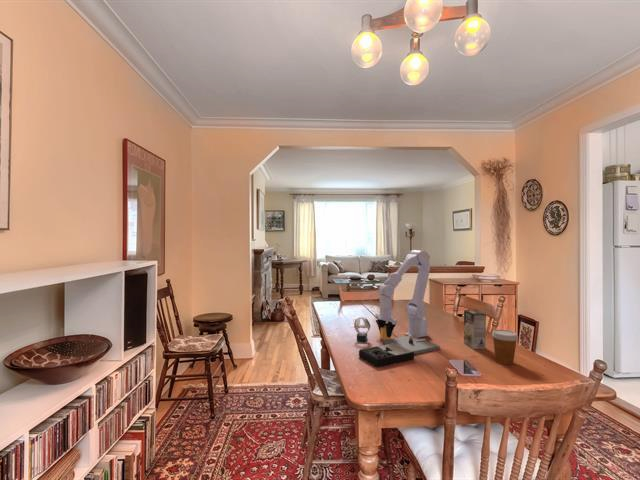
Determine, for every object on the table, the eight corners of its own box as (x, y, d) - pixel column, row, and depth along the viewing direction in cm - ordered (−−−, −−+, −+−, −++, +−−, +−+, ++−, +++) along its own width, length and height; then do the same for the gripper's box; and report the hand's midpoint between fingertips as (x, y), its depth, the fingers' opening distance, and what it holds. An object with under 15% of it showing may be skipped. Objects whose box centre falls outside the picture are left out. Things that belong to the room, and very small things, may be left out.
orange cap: (386, 336, 172) (386, 326, 172) (392, 338, 168) (392, 328, 168) (378, 337, 170) (378, 327, 170) (384, 340, 165) (384, 330, 165)
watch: (369, 342, 162) (369, 319, 162) (353, 340, 164) (353, 318, 164) (371, 339, 168) (371, 317, 167) (355, 337, 170) (355, 315, 170)
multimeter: (358, 358, 143) (358, 346, 143) (393, 350, 152) (394, 339, 152) (377, 369, 131) (377, 356, 131) (414, 360, 140) (414, 348, 140)
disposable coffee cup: (487, 357, 143) (487, 329, 143) (510, 357, 143) (510, 329, 142) (498, 365, 133) (498, 335, 133) (522, 366, 133) (523, 336, 133)
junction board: (412, 338, 169) (412, 333, 169) (439, 349, 153) (439, 344, 153) (383, 343, 161) (383, 338, 161) (409, 355, 145) (409, 350, 145)
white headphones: (368, 327, 190) (368, 320, 190) (357, 329, 186) (357, 322, 186) (358, 324, 197) (358, 317, 197) (347, 326, 193) (347, 319, 193)
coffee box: (462, 342, 162) (463, 309, 162) (475, 342, 162) (476, 309, 162) (472, 349, 153) (473, 314, 153) (486, 349, 153) (486, 313, 153)
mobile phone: (467, 359, 139) (482, 374, 124) (467, 361, 139) (482, 376, 124) (448, 358, 139) (461, 373, 124) (448, 361, 139) (461, 376, 124)
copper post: (411, 342, 158) (411, 334, 158) (414, 343, 156) (414, 335, 156) (407, 342, 157) (407, 335, 157) (410, 343, 155) (410, 336, 155)
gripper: (370, 306, 173) (370, 332, 173) (388, 312, 160) (388, 340, 160) (381, 305, 176) (381, 330, 177) (400, 310, 164) (399, 338, 164)
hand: (385, 335), depth 169 cm, fingers closed on orange cap, 5 cm apart
